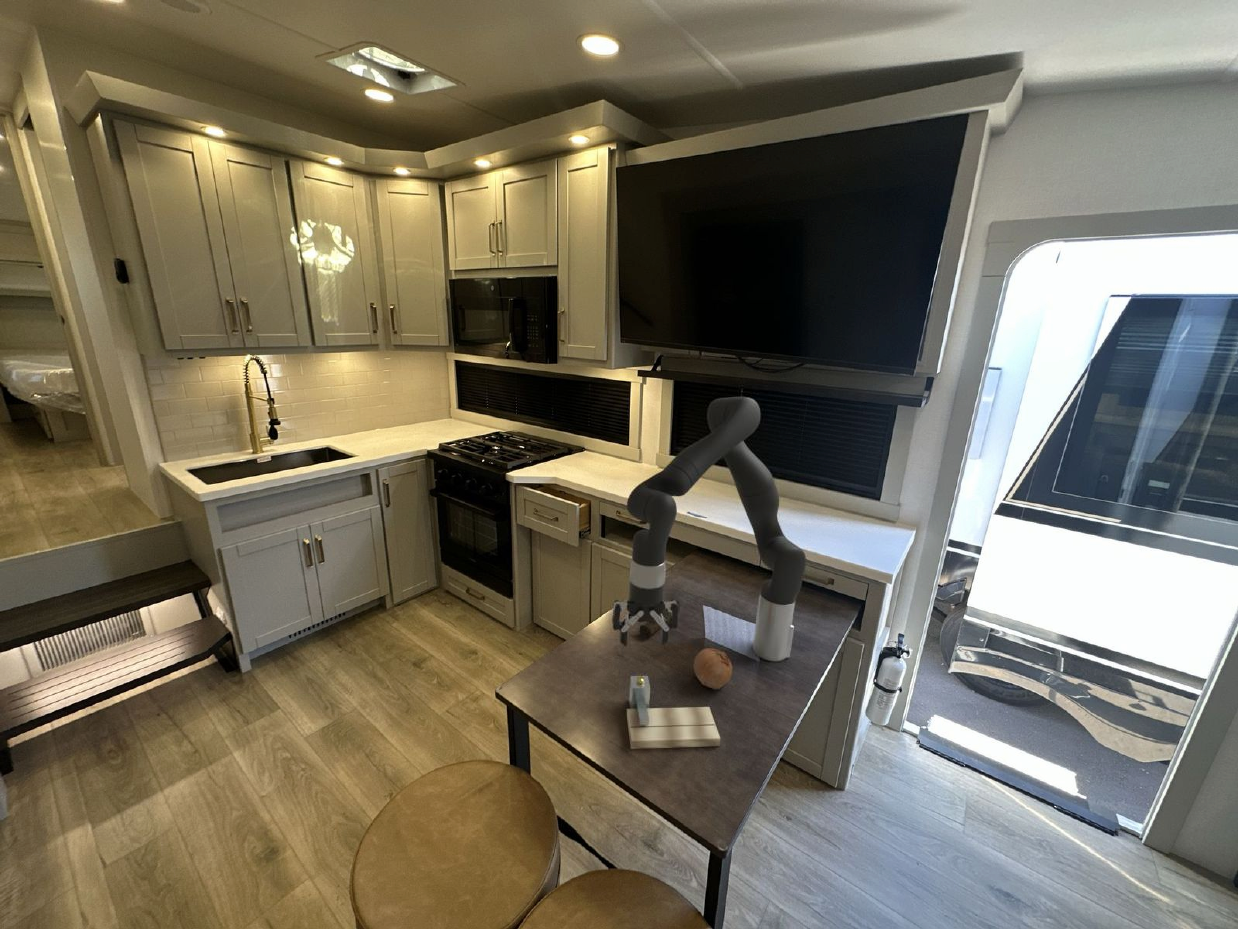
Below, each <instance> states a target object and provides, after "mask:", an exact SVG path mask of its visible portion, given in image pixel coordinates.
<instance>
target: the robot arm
mask: <svg viewBox="0 0 1238 929" xmlns="http://www.w3.org/2000/svg"><path fill="white" fill-rule="evenodd" d="M706 413H707V414H706V420H707V424H708V427H709V430H710V431H711V433H709V434H708V435H706V436H704V437H703V438H701V439H699V440H698V441H695V442H694V443H693V444H691V445H688V446H687V447H686V448H684V449H683V450H681V451H680V452H679V453H678V454H677V455H676V456H675V457H674V458H673V459H672V460H671V461H670V462H669V463H668V464H667V466H665V467H664V469H662V470H661V471H659V472H657V473H655V474H653V475H652V476H650V477H649V478H647V479H645V480H644V481H642V482H641V483H639V484H638V485H636V486H635V487H634V488H633V490H631V492H630V494H629V496H628V498H627V501H626V509H627V512H628V513H629V514H630V515H631V517H633V518H635V519H637V520H639V521H641V522H644V523H647V524H648V525H649V528H648V529H641V530H638V531H636V533H635V534H634V535H633V539H632V551H631V552H632V553H631V554H632V555H631V556H632V558H631V563H630V572H629V587H628V588H629V590H628V600H627V602H624V601H623V602H622V601H621V602H620V600H618V599H615V600H614V602H613V608H612V610H613V611H612V619H611V623H612V630H614V631H617V630H618V631H619V632H620V633H619V641H620V644H621V645H622V646H623V647H627V645H628V630H629V629H630V628H631V627H633V626H634V625H635V623H637V622H638V623H645V622H646V623H647V622H653V621H654V620H656V622H657V623H658V624H659V625H660V626H661V628H660V636H659V637H660V638H659V641H660V645H661V646H666V643H668V640H669V633H670V632H669V631H670V630H671V629H677V628H678V624H679V623H678V615H679V614H678V606H677V603H676V601H677V600H675V599H674V598H671V599H670V601H664V598H665V597H664V596H665V585H666V584H665V583H666V582H665V581H666V555H667V554H666V552H667V551H666V550H667V542H668V540H669V536H670V534H671V531H672V528H673V525H674V523H675V522H676V521H675V520H676V516H677V514H678V512H677V510H678V509H677V503H676V500H675V499H674V497H683V496H685V495H686V494H687V493H688V492H689V491H690V490H691V489H692V488H693V487H694V486H695V484H697V483H698V481H699V480H701V478H702V477H703V476H704V475H705V474H706V473H707V471H709V469H711V467H712V466H713V465H715V464H716V463H717V462H718V461H720V460H721V459H722V458H724V460H725V463H726V465H727V467H728V470H729V471H730V474H731V477H732V479H733V481H734V485H735V488H736V491H737V493H738V496H739V498H740V501H741V503H742V506H743V509H744V511H745V514H746V517H747V519H748V521H749V523H750V526H751V528H752V532H753V535H754V538H755V542H756V546H757V550H758V555H759V557H760V560H761V561H762V563H763V564H764V565H765V566H766V567H767V569H769V570H770V571H771V572H772V577H771V579H767V580H765V581H762V583H761V585H760V591H759V598H758V605H757V613H756V619H755V620H756V621H755V625H754V626H755V627H754V633H753V641H752V651H753V652H754V654H756V655H757V656H758V657H759V658H761V659H763V660H767V661H770V662H781V661H784V660H785V659H786V658H790V657H791V650H792V645H793V638H794V631H795V626H794V625H793V618H794V616H793V615H794V611H795V607H796V606H795V605H796V600H797V596H798V594H799V593H800V591H801V588H802V584H803V579H804V576H805V575H804V574H805V571H806V565H807V564H806V563H807V558H806V557H807V556H806V554H805V551H804V550H803V548H801V547H800V546H798V545H796V544H795V543H794V542H792V541H791V540H789V539H788V538H787V537H786V535H785V533H784V531H783V530H782V528H781V525H780V522H779V518H778V512H779V508H780V495H779V492H778V489H777V485H776V483H775V479H774V477H773V475H772V472H770V470H769V469H768V468H767V466H766V465H765V464H764V463H763V462H762V461H761V460H760V459H759V457H757V456H756V455H755V454H754V452H752V451H751V450H750V448H749V447H748V446H747V444H746V443H745V440H746V439H747V438H749V436H750V435H752V434H753V433H754V432H755V431H756V429H758V427H759V425H760V422H761V410H760V405H759V404H758V402H757V401H756V400H755V399H753V398H751V397H749V396H748V397H746V396H733V397H720V398H716V399H714V400H712V401H711V402H710V403H709V406H708V407H707V412H706ZM666 608H667V609H668V611H669V612H670V620H668V621H666V620H665V618H664V617H663V616H662V614H661V613H662V612H663V611H664V610H665V609H666ZM624 610H627V611H628V612H627V613H626V614H625V617H624V618H623V619H622V620H621V621H620V618H621V617H620V616H621V614H622V613H623V612H624Z"/></svg>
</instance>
